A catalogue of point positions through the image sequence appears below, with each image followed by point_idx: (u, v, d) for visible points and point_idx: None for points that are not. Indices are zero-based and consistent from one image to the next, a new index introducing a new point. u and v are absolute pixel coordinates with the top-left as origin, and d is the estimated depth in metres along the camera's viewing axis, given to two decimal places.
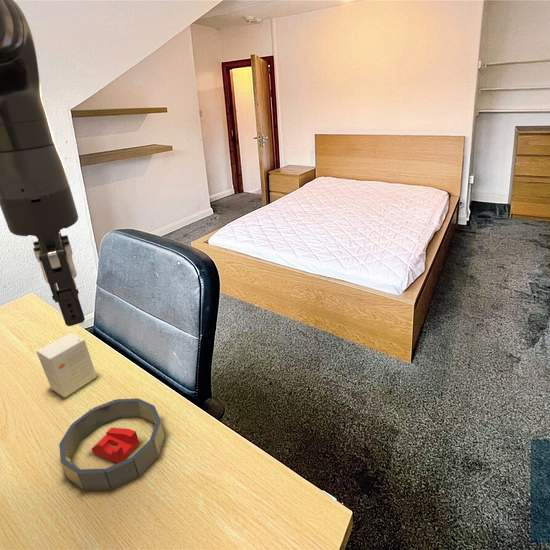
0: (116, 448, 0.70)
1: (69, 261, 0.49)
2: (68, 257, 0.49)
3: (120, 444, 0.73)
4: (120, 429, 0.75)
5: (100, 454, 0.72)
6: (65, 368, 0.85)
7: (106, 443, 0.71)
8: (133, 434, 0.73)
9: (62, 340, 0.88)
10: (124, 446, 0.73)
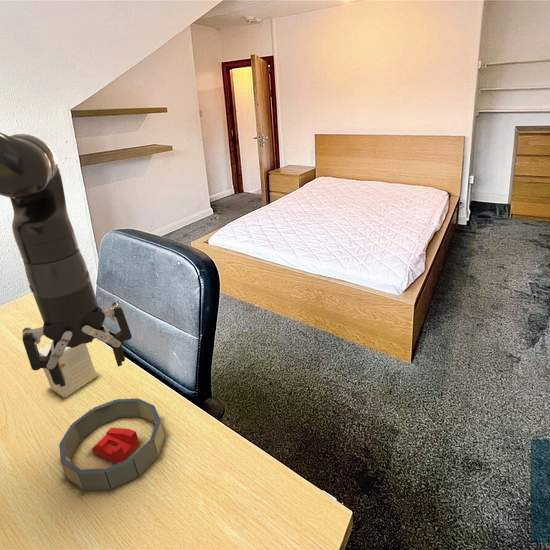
0: (116, 448, 0.70)
1: (57, 344, 0.59)
2: (58, 341, 0.59)
3: (120, 444, 0.73)
4: (120, 429, 0.75)
5: (100, 454, 0.72)
6: (66, 368, 0.85)
7: (106, 443, 0.71)
8: (133, 434, 0.73)
9: None
10: (124, 446, 0.73)
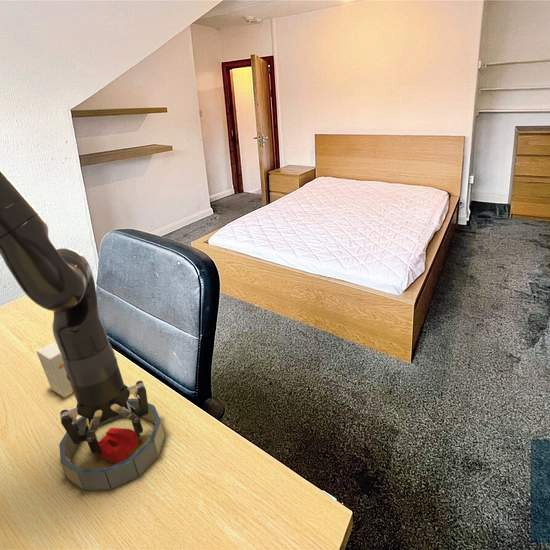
0: (116, 448, 0.70)
1: (91, 422, 0.68)
2: (91, 419, 0.68)
3: (120, 444, 0.73)
4: (120, 429, 0.75)
5: (100, 454, 0.72)
6: None
7: (106, 443, 0.71)
8: (133, 434, 0.73)
9: None
10: (124, 446, 0.73)
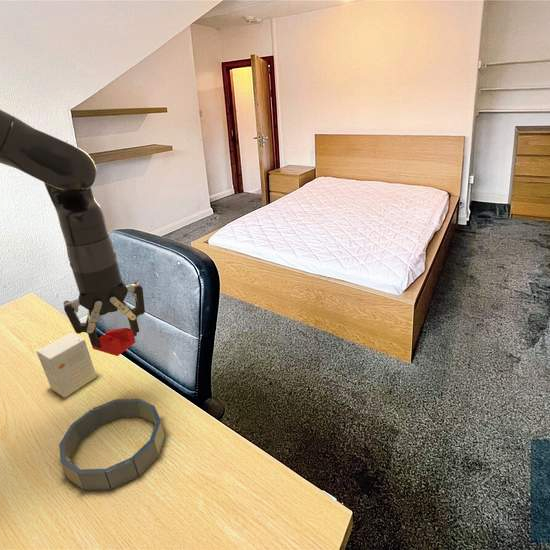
0: (114, 340, 0.76)
1: (91, 313, 0.74)
2: (92, 310, 0.74)
3: None
4: (118, 329, 0.81)
5: (99, 348, 0.78)
6: (66, 368, 0.85)
7: (105, 337, 0.77)
8: (130, 331, 0.79)
9: (62, 340, 0.88)
10: (121, 342, 0.79)
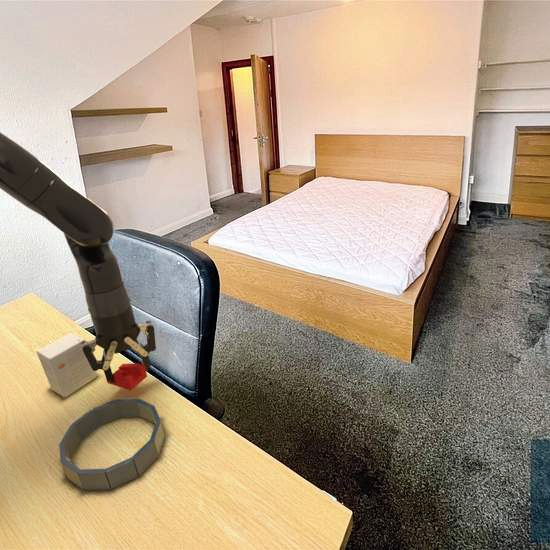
0: (128, 376, 0.82)
1: (107, 352, 0.80)
2: (108, 349, 0.80)
3: None
4: (131, 364, 0.87)
5: (114, 383, 0.84)
6: (66, 368, 0.85)
7: (119, 373, 0.83)
8: (142, 367, 0.85)
9: (62, 340, 0.88)
10: (134, 377, 0.85)
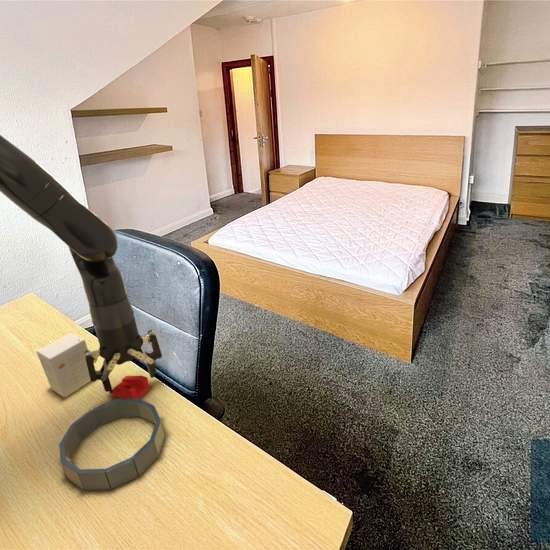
0: (131, 389, 0.83)
1: (109, 362, 0.81)
2: (110, 360, 0.81)
3: (134, 388, 0.86)
4: (134, 376, 0.88)
5: (117, 396, 0.86)
6: (66, 368, 0.85)
7: (122, 386, 0.85)
8: (145, 379, 0.86)
9: (62, 340, 0.88)
10: (137, 389, 0.86)
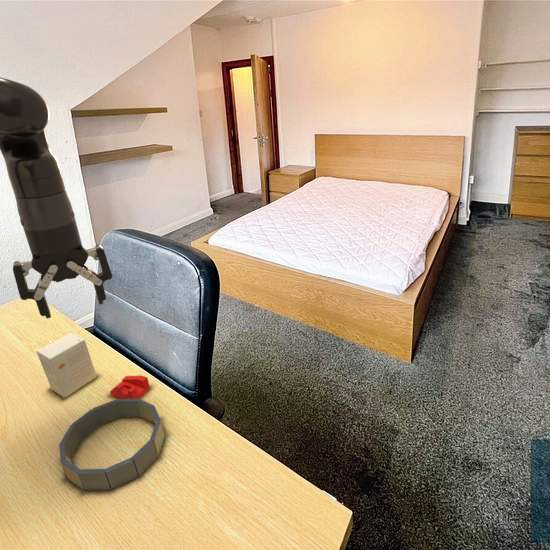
0: (131, 389, 0.83)
1: (43, 277, 0.66)
2: (45, 274, 0.66)
3: (134, 388, 0.86)
4: (134, 376, 0.88)
5: (117, 396, 0.86)
6: (66, 368, 0.85)
7: (122, 386, 0.85)
8: (145, 379, 0.86)
9: (62, 340, 0.88)
10: (137, 389, 0.86)
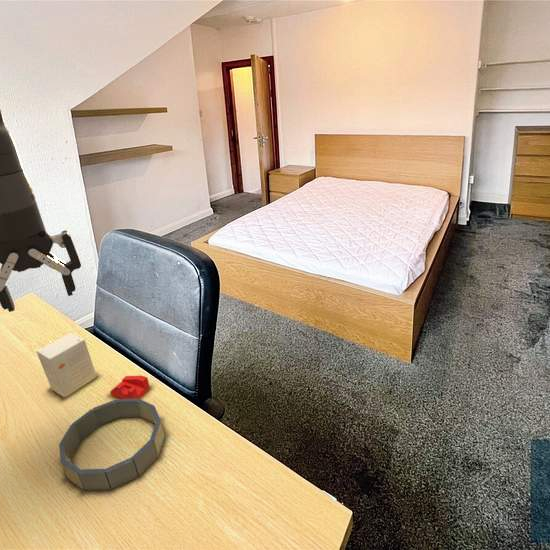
0: (131, 389, 0.83)
1: (3, 266, 0.61)
2: (4, 263, 0.61)
3: (134, 388, 0.86)
4: (134, 376, 0.88)
5: (117, 396, 0.86)
6: (66, 368, 0.85)
7: (122, 386, 0.85)
8: (145, 379, 0.86)
9: (62, 340, 0.88)
10: (137, 389, 0.86)
